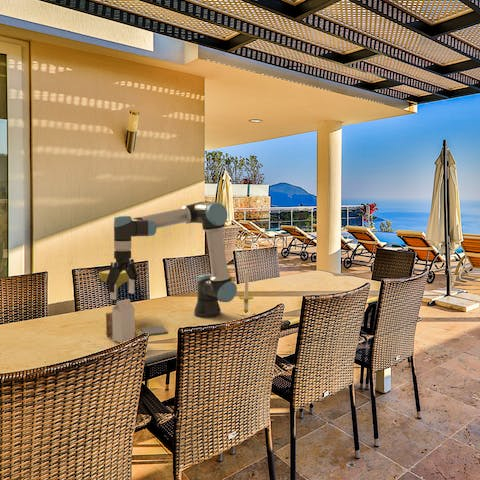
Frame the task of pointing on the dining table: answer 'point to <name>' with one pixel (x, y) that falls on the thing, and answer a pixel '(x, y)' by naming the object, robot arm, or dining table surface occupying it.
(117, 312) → the milk carton
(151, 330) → the coaster
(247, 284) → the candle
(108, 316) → the brown upright block
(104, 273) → the cocktail glass
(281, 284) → the dining table surface
